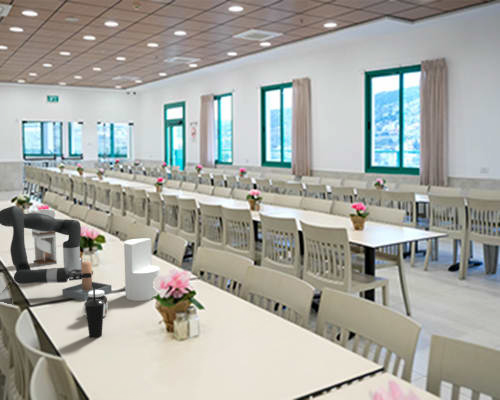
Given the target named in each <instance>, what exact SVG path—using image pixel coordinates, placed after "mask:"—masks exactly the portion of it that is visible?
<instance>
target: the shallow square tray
mask: <svg viewBox="0 0 500 400" xmlns="http://www.w3.org/2000/svg"><path fill="white" fill-rule="evenodd" d="M93 287H95V290H103V291H104V295H106V294H108V293H112V284H106V283H101V282H97V281H92V290H89V291H83V290H82V283H79V284H76V285H73V286H70V287H69V286H68V287H66V288H62V290H61V291H62V292H61V293H62V297H64V298H65V297H66V298H70V299H74V300H79V301H85V302H86V301H87V298H88V297H89V296H88V292H90V291H93Z"/></svg>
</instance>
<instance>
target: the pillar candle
mask: <svg viewBox="0 0 500 400" xmlns="http://www.w3.org/2000/svg"><path fill="white" fill-rule="evenodd" d="M92 264H93V263H92V262H91V261H82V263H81V271H82V273H83V274H84V273H91V275H92V271H93V268H92ZM92 282H93V275H92V277H91V278H83V279H81V284H82V290H83V291H89V290H92Z"/></svg>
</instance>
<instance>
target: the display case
mask: <svg viewBox="0 0 500 400" xmlns="http://www.w3.org/2000/svg"><path fill="white" fill-rule="evenodd" d="M30 212H31V213H40V214H45V215H49V216H51V217H53V218H54V219H56V218H55V210H53V209H50V208H42V209H32V210H31V211H30ZM31 234H32V235H31V236H32V238H34V239H33V240H34V242H33V243H34V259H33V264H34V265H35V266H38V267H45V266H46V265H47V266H52V265H57V263H58V261H57V242H56V241H57V240H56V239H57V237H56V232H54V231H39V230H34V229H31Z"/></svg>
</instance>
